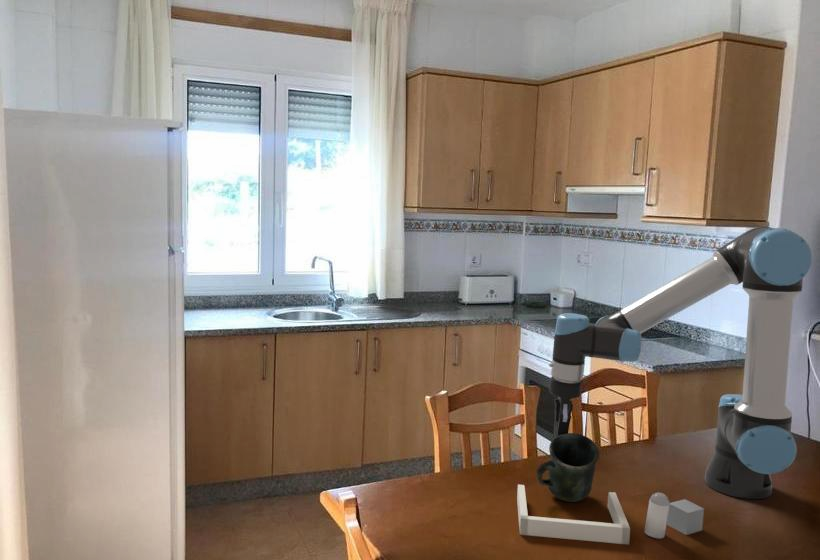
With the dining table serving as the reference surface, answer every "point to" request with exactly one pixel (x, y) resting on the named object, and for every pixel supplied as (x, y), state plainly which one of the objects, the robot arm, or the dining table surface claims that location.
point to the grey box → (685, 516)
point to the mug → (570, 467)
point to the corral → (575, 524)
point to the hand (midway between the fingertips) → (556, 471)
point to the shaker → (657, 515)
